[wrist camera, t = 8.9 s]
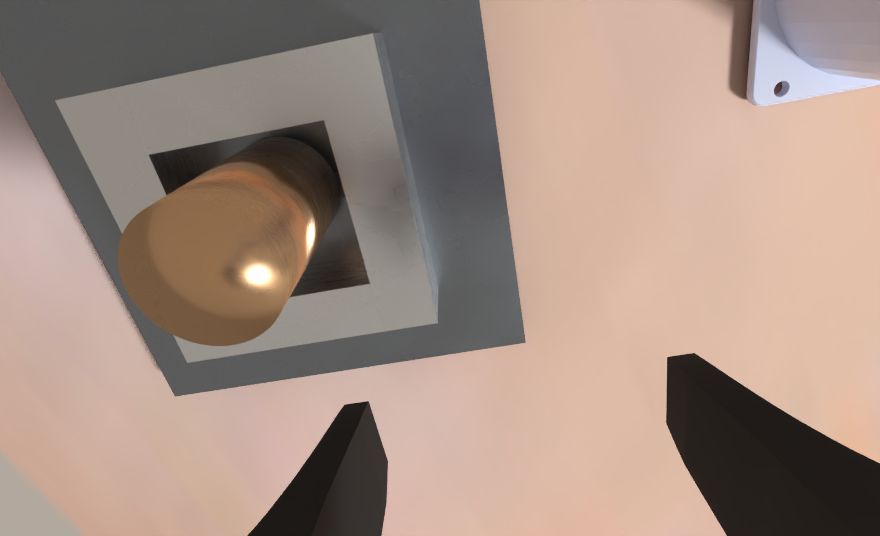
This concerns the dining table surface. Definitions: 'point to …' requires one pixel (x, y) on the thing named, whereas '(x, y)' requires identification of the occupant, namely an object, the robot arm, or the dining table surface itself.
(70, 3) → the flange socket
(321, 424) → the dining table surface
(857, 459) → the robot arm
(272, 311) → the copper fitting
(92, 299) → the dining table surface
